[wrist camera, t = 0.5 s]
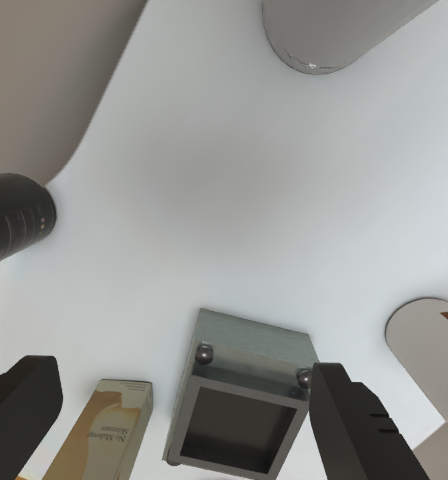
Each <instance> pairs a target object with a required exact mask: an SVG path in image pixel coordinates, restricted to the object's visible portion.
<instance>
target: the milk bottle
mask: <svg viewBox="0 0 448 480" xmlns="http://www.w3.org/2000/svg"><path fill="white" fill-rule="evenodd" d="M386 339H387V344H388V346H389V348H390V350H391V351H392V352H393V354H394V355H395V357H396V358H397V359H398V361H399V362H400V363H401V364H402V366H403V367H404V368H405V370H406V371H407V372H408V374H409V375H410V376H411V377H412V379H413V380H414V381H415V383H416V384H417V385H418V386H419V388H420V389H421V390H422V392H423V393H424V394H425V395H426V397H427V398H428V399H429V401H430V402H431V403H432V404H433V406H434V407H435V408H436V409H437V411H438V412H439V413H440V414H441V416H442V417H443V418H444V420H445V421H446V422H447V423H448V302H446V301H443V300H437V299H421V300H416V301H414V302H411V303H409V304H407V305H405V306H403V307H402V308H401V309H399V310H398V311H397V312H396V313H395V314H394V315H393V316H392V318H391V319H390V321H389V323H388V326H387V330H386Z"/></svg>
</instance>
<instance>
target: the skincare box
mask: <svg viewBox="0 0 448 480" xmlns="http://www.w3.org/2000/svg"><path fill="white" fill-rule="evenodd" d="M152 410H153V402H152V388H151V384H150V383H142V382H131V381H116V380H101V381H100V383H99V385H98V386H97V388H96V390H95V391H94V393H93V395H92V396H91V398H90V400H89V402H88V403H87V405H86V407H85V408H84V410H83V412H82V413H81V415H80V417H79V418H78V420H77V422H76V423H75V425H74V427H73V428H72V430H71V432H70V433H69V435H68V437H67V438H66V440H65V442H64V443H63V445H62V447H61V448H60V450H59V452H58V453H57V455H56V457H55V458H54V460H53V462H52V463H51V465H50V467H49V469H48V470H47V472H46V474H45V475H44V477H43V479H42V480H129V478H130V475H131V472H132V469H133V466H134V463H135V460H136V457H137V454H138V451H139V448H140V445H141V442H142V440H143V437H144V434H145V431H146V428H147V425H148V422H149V419H150V416H151V413H152Z"/></svg>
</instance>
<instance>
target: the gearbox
mask: <svg viewBox="0 0 448 480" xmlns="http://www.w3.org/2000/svg"><path fill="white" fill-rule="evenodd" d="M315 362H319V360H318V357H317V355H316V352H315V350H314V347H313V345H312V342H311V340H310V337H309V335H307V334H303V333H299V332H295V331H290V330H286V329H282V328H278V327H274V326H270V325H266V324H262V323H258V322H254V321H250V320H245V319H241V318H237V317H233V316H229V315H225V314H221V313H217V312H213V311H209V310H205V309H201V310H200V314H199V317H198V321H197V325H196V329H195V332H194V336H193V340H192V343H191V347H190V351H189V355H188V358H187V362H186V366H185V370H184V373H183V377H182V381H181V384H180V388H179V392H178V396H177V399H176V403H175V407H174V410H173V414H172V418H171V422H170V427H169V431H168V435H167V440H166V444H165V448H164V453H163V457H162V460H165V461H166V462H167V463H168V464H169V465H171V466H178V465H180V464H183V465H188V466H193V467H197V468H202V469H207V470H211V471H216V472H220V473H225V474H230V475H234V476H239V477H244V478H248V479H253V480H276V478H277V476H278V474H279V472H280V470H281V468H282V465H283V463H284V461H285V459H286V457H287V455H288V453H289V451H290V449H291V447H292V444H293V442H294V440H295V438H296V436H297V434H298V432H299V430H300V428H301V426H302V424H303V421H304V419H305V417H306V415H307V413H308V411H309V399H310V389H311V379H312V369H313V364H314V363H315Z"/></svg>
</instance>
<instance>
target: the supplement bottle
mask: <svg viewBox="0 0 448 480" xmlns="http://www.w3.org/2000/svg"><path fill="white" fill-rule="evenodd" d="M54 220H55V212H54V207H53V204H52V201H51V199H50V197H49V196H48V194H47V193H46V192H45V190H44V189H43V188H42V187H41V186H40V185H39V184H37V183H36V182H34V181H33V180H31V179H29V178H27V177H24V176H22V175H18V174H12V173H5V174H0V261H1V260H3V259H5V258H7V257H9V256H11V255H13V254H15V253H17V252H19V251H21V250H23V249H25V248H27V247H29V246H31V245H33V244H35V243H37V242H38V241H40V240H42V239H43V238H45V237H46V236H47V235H48V234H49V232H50V231H51V229H52V227H53V225H54Z"/></svg>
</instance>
